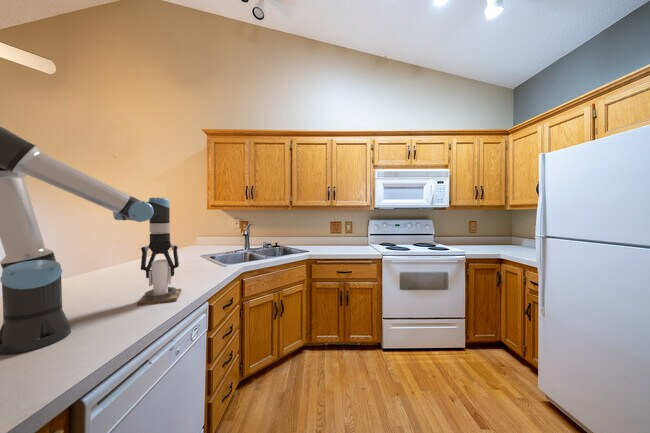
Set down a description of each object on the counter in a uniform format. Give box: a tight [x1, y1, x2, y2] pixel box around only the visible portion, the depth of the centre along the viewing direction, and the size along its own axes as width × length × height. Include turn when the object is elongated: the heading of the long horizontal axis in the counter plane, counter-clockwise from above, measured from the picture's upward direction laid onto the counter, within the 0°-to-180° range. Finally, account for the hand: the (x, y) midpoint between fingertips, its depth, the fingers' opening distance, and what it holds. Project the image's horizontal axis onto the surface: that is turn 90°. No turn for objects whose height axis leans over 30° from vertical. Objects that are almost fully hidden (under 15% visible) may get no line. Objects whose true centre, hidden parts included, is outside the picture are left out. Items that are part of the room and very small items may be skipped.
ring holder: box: [136, 286, 182, 307], centre depth 112 cm, size 14×14×3 cm
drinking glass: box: [150, 258, 170, 295], centre depth 112 cm, size 7×7×15 cm
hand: (160, 284), depth 112 cm, fingers closed on drinking glass, 7 cm apart
